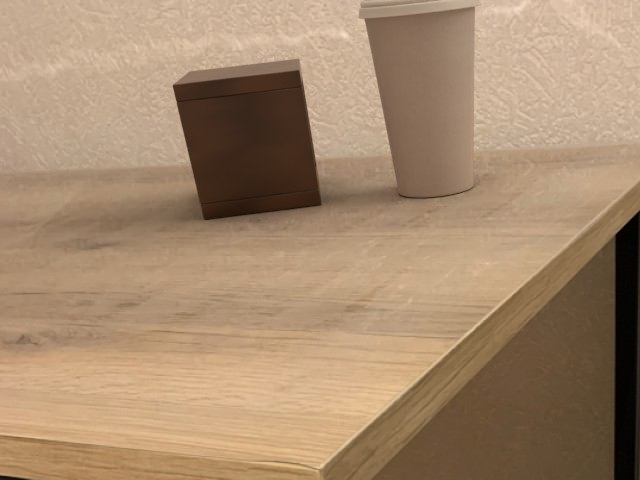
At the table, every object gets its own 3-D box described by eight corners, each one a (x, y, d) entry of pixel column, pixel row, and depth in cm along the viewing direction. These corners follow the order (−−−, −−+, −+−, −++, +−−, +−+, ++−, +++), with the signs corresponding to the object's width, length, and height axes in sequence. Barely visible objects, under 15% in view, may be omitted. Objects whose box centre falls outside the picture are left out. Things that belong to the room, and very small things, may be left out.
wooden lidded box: (203, 219, 76) (172, 84, 70) (215, 191, 87) (188, 71, 81) (321, 204, 77) (299, 69, 71) (318, 178, 87) (299, 58, 82)
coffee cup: (513, 184, 76) (503, -31, 68) (419, 207, 72) (395, -19, 64) (450, 173, 83) (434, -24, 74) (361, 193, 79) (332, -13, 71)
